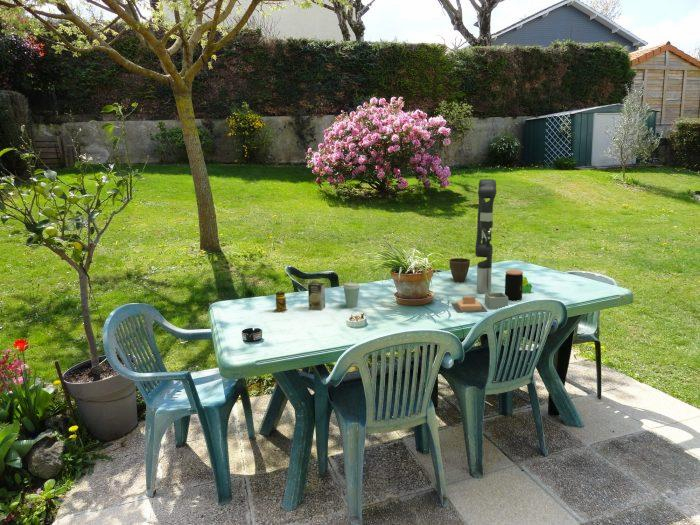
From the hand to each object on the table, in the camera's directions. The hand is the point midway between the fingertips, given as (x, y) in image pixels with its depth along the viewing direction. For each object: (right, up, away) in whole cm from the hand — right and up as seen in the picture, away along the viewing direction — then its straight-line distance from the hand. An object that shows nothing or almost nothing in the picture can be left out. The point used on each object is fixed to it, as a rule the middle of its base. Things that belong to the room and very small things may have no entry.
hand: (485, 246), depth 306 cm
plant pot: (-3, -24, +60) cm, 65 cm away
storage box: (+6, -37, 0) cm, 37 cm away
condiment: (-127, -40, +6) cm, 133 cm away
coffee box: (-104, -39, +8) cm, 111 cm away
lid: (-11, -37, -1) cm, 39 cm away
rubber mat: (-11, -38, -1) cm, 39 cm away
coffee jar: (+21, -34, +13) cm, 42 cm away
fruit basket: (+32, -30, +28) cm, 52 cm away
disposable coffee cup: (-82, -38, +10) cm, 91 cm away
